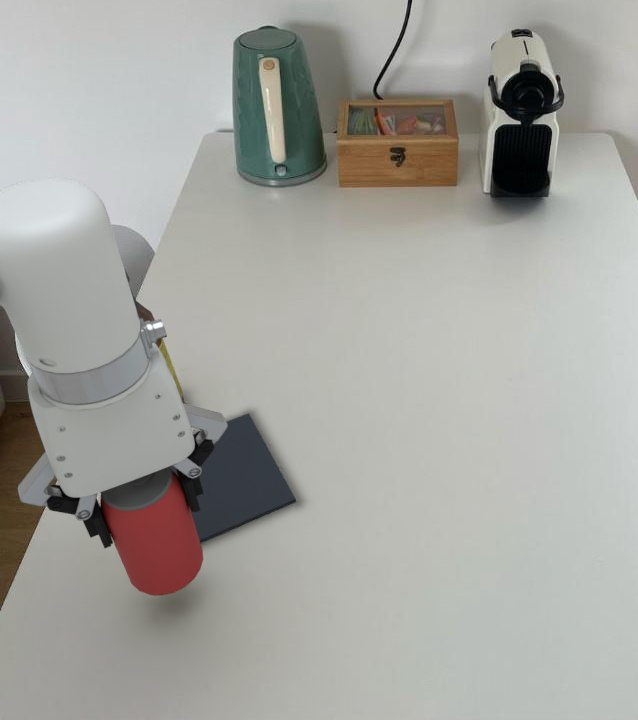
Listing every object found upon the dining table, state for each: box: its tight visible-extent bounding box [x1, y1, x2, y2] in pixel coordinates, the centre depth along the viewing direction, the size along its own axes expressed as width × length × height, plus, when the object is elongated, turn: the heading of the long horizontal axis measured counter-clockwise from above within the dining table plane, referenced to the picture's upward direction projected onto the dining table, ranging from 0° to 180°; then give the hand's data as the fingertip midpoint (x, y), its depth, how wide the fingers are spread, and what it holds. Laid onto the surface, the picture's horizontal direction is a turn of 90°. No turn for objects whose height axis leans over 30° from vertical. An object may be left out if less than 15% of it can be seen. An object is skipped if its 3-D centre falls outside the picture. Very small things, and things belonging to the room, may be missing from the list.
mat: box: [169, 412, 297, 543], centre depth 86 cm, size 14×14×1 cm
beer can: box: [99, 467, 204, 597], centre depth 68 cm, size 7×7×12 cm
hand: (148, 515), depth 67 cm, fingers closed on beer can, 6 cm apart
